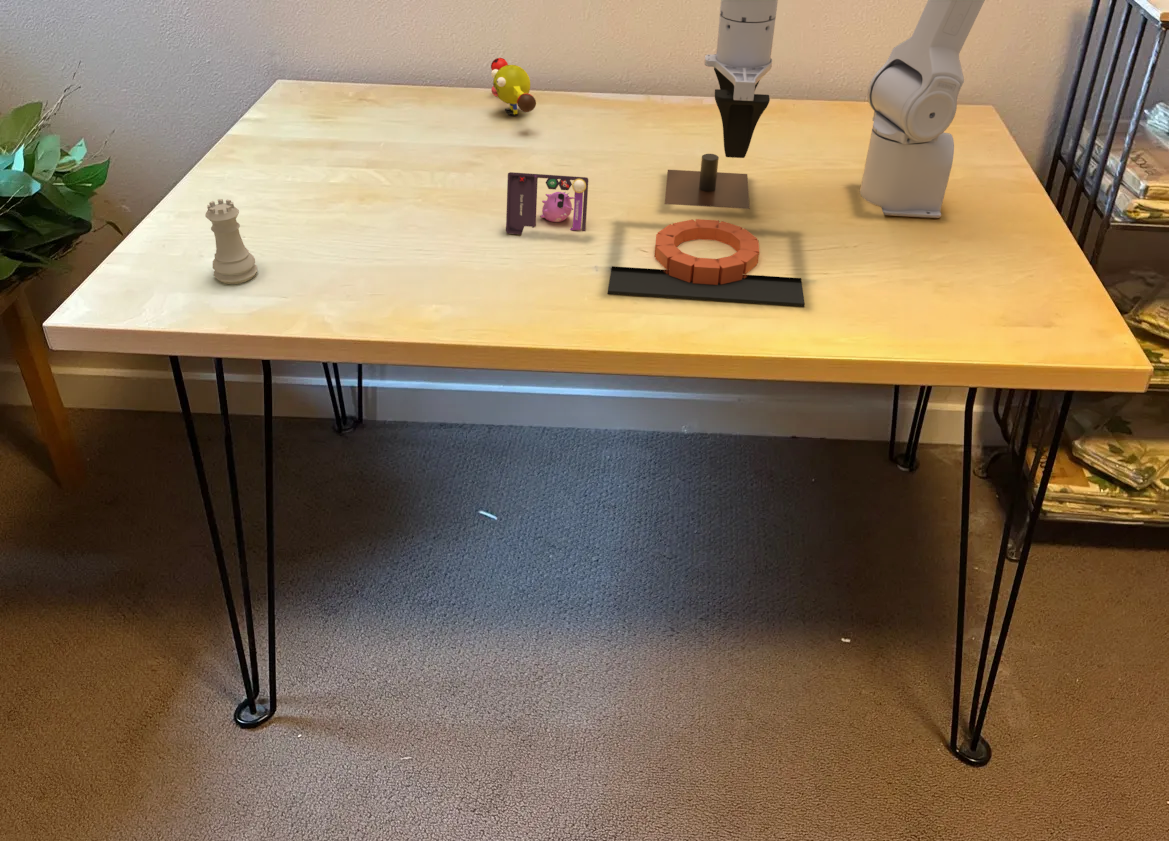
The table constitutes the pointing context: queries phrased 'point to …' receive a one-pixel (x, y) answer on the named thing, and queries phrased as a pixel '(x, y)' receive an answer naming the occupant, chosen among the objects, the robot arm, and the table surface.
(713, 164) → the stand
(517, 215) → the game card
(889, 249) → the table surface
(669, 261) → the ring
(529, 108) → the toy figure
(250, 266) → the rook chess piece
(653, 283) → the tray
